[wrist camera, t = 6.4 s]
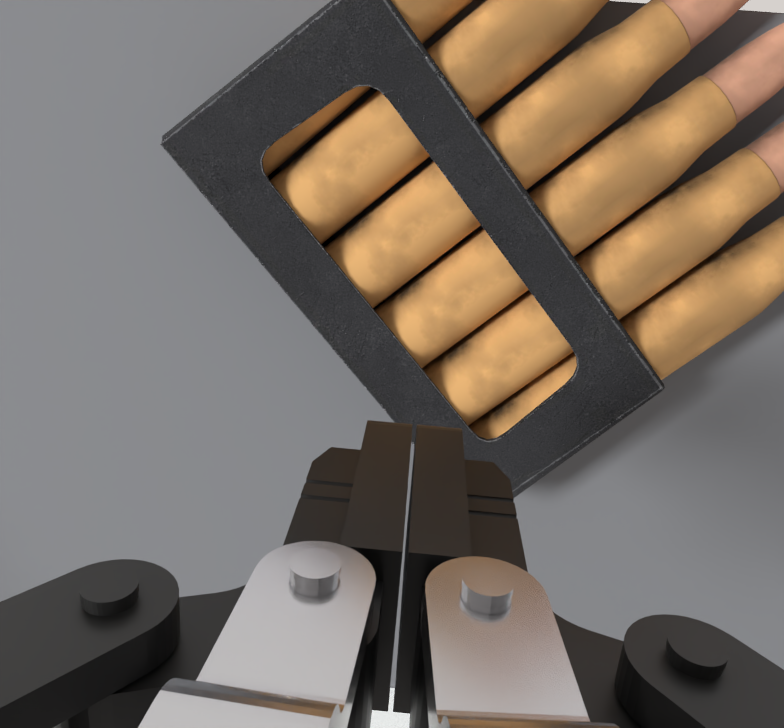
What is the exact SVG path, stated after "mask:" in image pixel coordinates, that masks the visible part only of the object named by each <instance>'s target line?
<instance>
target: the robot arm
mask: <svg viewBox="0 0 784 728" xmlns="http://www.w3.org/2000/svg"><path fill="white" fill-rule="evenodd" d="M412 425H413V424H404V423H393V422H383V421H372V420H367V424H366V429H365V433H364V438H363V442H362V447H361V450H358V449H347V448H336V447H331V448H329V449H328V450H327V451H325V452H324V453H323V454H321V455H320V456H319V457H317V458H316V459H315V460H313V461H312V464H311V467H310V470H309V472H308V475H307V478H306V483H305V484H304V487H303V490H302V492H301V498H299V501H298V504H297V507H296V510H295V512H294V515H293V518H292V521H291V524H290V527H289V530H288V532H287V535H286V538H285V541H284V544H283V546H282V547H279V548H277V549H275V550H273V551H271V552H270V553H268V554H267V555H265V556H264V557H263V558H262V559H261V560H260V561H259V563H258V564H257V566H256V567H255V569H254V571H253V573H252V575H251V577H250V578H249V580H248V582H247V584H246V585H244V586H241V587H239V588H236V589H232V590H228V591H223V592H217V593H210V594H202V595H193V596H185V597H179V587H178V583H177V581H176V579H175V578H174V576H173V575H172V574H171V573H170V572H169V571H168V570H166V569H165V568H163V567H161V566H159V565H157V564H154V563H151V562H147V561H142V560H135V559H118V560H108V561H102V562H98V563H94V564H90V565H87V566H84V567H82V568H79V569H76V570H74V571H72V572H69V573H67V574H65V575H62V576H60V577H58V578H55V579H53V580H51V581H48V582H46V583H43V584H41V585H39V586H36V587H34V588H32V589H29V590H27V591H25V592H22V593H20V594H18V595H15V596H13V597H10V598H8V599H6V600H3V601H1V602H0V728H370V722H371V713H372V710H379V711H388V704H389V693H390V682H391V671H392V661H393V650H394V639H395V628H396V618H397V607H398V596H399V586H400V575H401V564H402V553H403V541H404V528H405V515H406V502H407V490H408V477H409V464H410V451H411V438H412ZM513 502H514V498H513V492H512V487H511V482H510V479H509V478H508V477H507V476H506V475H505V474H504V473H503V472H502V471H501V470H500V469H499V467H498V466H497V465H496V464H495V463H494V462H487V461H476V460H466V459H464V446H463V433H462V429H460V428H449V427H438V426H427V425H417V426H416V435H415V446H414V456H413V467H412V478H411V488H410V499H409V510H408V520H407V532H406V544H405V557H404V570H403V584H402V598H401V611H400V625H399V639H398V653H397V666H396V680H395V694H394V707H393V712H401V713H410V727H409V728H784V670H783V669H782V668H780V667H779V666H777V665H776V664H774V663H773V662H771V661H770V660H768V659H767V658H765V657H764V656H762V655H761V654H759V653H757V652H756V651H754V650H753V649H751V648H750V647H748V646H747V645H745V644H744V643H742V642H741V641H739V640H738V639H736V638H735V637H733V636H731V635H730V634H728V633H726V632H725V631H723V630H721V629H719V628H717V627H715V626H713V625H711V624H708V623H705V622H703V621H700V620H697V619H693V618H689V617H685V616H679V615H669V614H660V615H651V616H647V617H644V618H641V619H639V620H637V621H636V622H634V623H633V624H631V626H630V627H629V628H628V629H627V631H626V634H625V636H624V641H621V640H618V639H615V638H612V637H609V636H606V635H602V634H599V633H596V632H593V631H590V630H587V629H585V628H582V627H579V626H577V625H575V624H573V623H571V622H569V621H567V620H565V619H563V618H562V617H560V616H558V615H557V614H555V613H554V612H553V611H552V608H551V605H550V602H549V599H548V596H547V594H546V592H545V589H544V588H543V587H542V585H541V584H540V583H539V582H538V581H537V580H536V579H535V578H534V577H533V576H532V575H530V574H529V573H528V570H527V565H526V560H525V555H524V550H523V544H522V539H521V534H520V529H519V524H518V519H517V513H516V508H515V503H513Z"/></svg>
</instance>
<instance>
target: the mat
mask: <svg viewBox="0 0 784 728" xmlns="http://www.w3.org/2000/svg"><path fill="white" fill-rule="evenodd" d="M330 1H331V0H0V602H1V601H3V600H6V599H8V598H10V597H13V596H15V595H18V594H20V593H22V592H25V591H27V590H29V589H32V588H34V587H36V586H39V585H41V584H43V583H46V582H48V581H51V580H53V579H55V578H58V577H60V576H62V575H65V574H67V573H69V572H72V571H74V570H76V569H79V568H82V567H84V566H87V565H90V564H94V563H98V562H102V561H108V560H118V559H135V560H142V561H147V562H151V563H154V564H157V565H159V566H161V567H163V568H165V569H166V570H168V571H169V572H170V573H171V574H172V575H173V576H174V578H175V579H176V581H177V583H178V587H179V597H185V596H193V595H202V594H210V593H217V592H223V591H228V590H232V589H236V588H239V587H241V586H244V585H246V584H247V582H248V580H249V578H250V577H251V575H252V573H253V571H254V569H255V567H256V566H257V564H258V563H259V561H260V560H261V559H262V558H263V557H264V556H265V555H267V554H268V553H270V552H271V551H273V550H275V549H277V548H279V547H282V546H283V544H284V541H285V538H286V535H287V532H288V530H289V527H290V524H291V521H292V518H293V515H294V512H295V510H296V507H297V504H298V501H299V498H301V492H302V490H303V487H304V484H305V483H306V478H307V475H308V472H309V470H310V467H311V464H312V461H313V460H315V459H316V458H317V457H319V456H320V455H321V454H323V453H324V452H325V451H327V450H328V449H329V448H331V447H336V448H347V449H358V450H361V447H362V442H363V438H364V433H365V429H366V424H367V420H372V421H383V422H393V423H394V421H393V420H392V419H391V418H390V417H389V415H388V414H387V413H386V412H385V411H384V410H383V408H382V407H381V406H380V405H379V404H378V402H377V401H376V400H375V399H374V398H373V396H372V395H371V394H370V393H369V392H368V391H367V389H366V388H365V387H364V386H363V385H362V383H361V382H360V381H359V380H358V379H357V377H356V376H355V375H354V374H353V373H352V372H351V370H350V369H349V368H348V367H347V366H346V364H345V363H344V362H343V361H342V360H341V358H340V357H339V356H338V355H337V354H336V353H335V351H334V350H333V349H332V348H331V347H330V345H329V344H328V343H327V342H326V341H325V339H324V338H323V337H322V336H321V335H320V334H319V332H318V331H317V330H316V329H315V328H314V326H313V325H312V324H311V323H310V322H309V320H308V319H307V318H306V317H305V316H304V314H303V313H302V312H301V311H300V310H299V309H298V307H297V306H296V305H295V304H294V303H293V301H292V300H291V299H290V298H289V297H288V295H287V294H286V293H285V292H284V291H283V290H282V288H281V287H280V286H279V285H278V284H277V282H276V281H275V280H274V279H273V278H272V276H271V275H270V274H269V273H268V272H267V271H266V269H265V268H264V267H263V266H262V265H261V263H260V262H259V261H258V260H257V259H256V257H255V256H254V255H253V254H252V253H251V252H250V250H249V249H248V248H247V247H246V246H245V244H244V243H243V242H242V241H241V240H240V238H239V237H238V236H237V235H236V234H235V233H234V231H233V230H232V229H231V228H230V227H229V225H228V224H227V223H226V222H225V221H224V219H223V218H222V217H221V216H220V215H219V214H218V212H217V211H216V210H215V209H214V208H213V206H212V205H211V204H210V203H209V202H208V200H207V199H206V198H205V197H204V196H203V195H202V193H201V192H200V191H199V190H198V189H197V187H196V186H195V185H194V184H193V183H192V181H191V180H190V179H189V178H188V177H187V175H186V174H185V173H184V172H183V171H182V170H181V168H180V167H179V166H178V165H177V164H176V162H175V161H174V160H173V159H172V158H171V156H170V155H169V154H168V153H167V152H166V151H165V149H164V148H163V147H162V146H161V145H160V143H161V141H162V136H163V135H164V134H165V133H167V132H168V131H169V130H170V129H172V128H173V127H174V126H175V125H177V124H178V123H179V122H180V121H182V120H183V119H184V118H185V117H187V116H188V115H189V114H190V113H192V112H193V111H194V110H195V109H197V108H198V107H199V106H200V105H202V104H203V103H204V102H205V101H206V100H208V99H209V98H210V97H211V96H213V95H214V94H215V93H216V92H218V91H219V90H220V89H221V88H223V87H224V86H225V85H226V84H228V83H229V82H230V81H231V80H233V79H234V78H235V77H236V76H238V75H239V74H240V73H241V72H243V71H244V70H245V69H246V68H248V67H249V66H250V65H251V64H253V63H254V62H255V61H256V60H258V59H259V58H260V57H261V56H263V55H264V54H265V53H266V52H268V51H269V50H270V49H271V48H273V47H274V46H275V45H276V44H278V43H279V42H280V41H281V40H283V39H284V38H285V37H286V36H288V35H289V34H290V33H291V32H293V31H294V30H295V29H296V28H298V27H299V26H300V25H301V24H303V23H304V22H305V21H306V20H308V19H309V18H310V17H311V16H313V15H314V14H315V13H316V12H318V11H319V10H320V9H321V8H322V7H324V6H325V5H326V4H327V3H329V2H330ZM484 1H485V0H473V1H472V2H471V3H470V4H468V5H467V6H466V7H465V8H464V9H463V10H461V11H460V12H459V13H458V14H457V15H456V16H454V17H453V18H452V19H451V20H450V21H449V22H447V23H446V24H445V25H444V26H443V27H442V28H440V29H439V30H438V31H437V32H436V33H435V34H433V35H432V36H431V37H430V38H429V39H428V40H426V41H425V42H424V43H423V44H422V45H423V46H424V47H425V49H426V50H427V49H428V48H429V47H430V46H431V45H433V44H434V43H435V42H436V41H437V40H439V39H440V38H441V37H442V36H443V35H445V34H446V33H447V32H448V31H449V30H451V29H452V28H453V27H454V26H455V25H457V24H458V23H459V22H460V21H461V20H463V19H464V18H465V17H466V16H467V15H469V14H470V13H471V12H472V11H473V10H475V9H476V8H477V7H478V6H479V5H481V4H482V3H483V2H484ZM644 5H646V4H644V3H629V2H615V1H608V2H607V3H606V4H605V5H604V6H603V7H602V8H601V10H600V11H599V12H598V13H597V14H596V15H595V16H594V18H593V19H592V20H591V21H590V22H589V23H588V25H587V26H586V27H585V28H584V29H583V30H582V31H581V32H580V33H579V35H578V36H577V37H575V38H574V39H573V40H572V41H571V42H570V43H569V44H568V45H566V46H565V47H564V48H563V49H561V50H560V51H559V52H558V53H556V54H555V55H554V56H553V57H552V58H550V59H549V60H548V61H547V62H545V63H544V64H543V65H542V66H540V67H539V68H538V69H537V70H536V71H534V72H533V73H532V74H531V75H529V76H528V77H527V78H526V79H524V80H523V81H522V82H521V83H519V84H518V85H517V86H516V87H515V88H513V89H512V90H511V91H510V92H508V93H507V94H506V95H505V96H503V97H502V98H501V99H500V100H499V101H497V102H496V103H495V104H494V105H492V106H491V107H490V108H489V109H487V110H486V111H485V112H484V113H483V114H481V115H480V116H479V117H478V118H476V120H477V122H478V123H479V125H480V124H481V123H482V122H483V121H485V120H486V119H487V118H488V117H490V116H491V115H492V114H493V113H495V112H496V111H497V110H499V109H500V108H501V107H502V106H504V105H505V104H506V103H507V102H509V101H510V100H511V99H512V98H514V97H515V96H516V95H517V94H519V93H520V92H521V91H523V90H524V89H525V88H526V87H528V86H529V85H530V84H531V83H533V82H534V81H535V80H536V79H538V78H539V77H540V76H542V75H543V74H544V73H545V72H547V71H548V70H549V69H550V68H552V67H553V66H554V65H555V64H557V63H558V62H559V61H560V60H562V59H563V58H564V57H566V56H567V55H568V54H569V53H571V52H572V51H573V50H575V49H576V48H577V47H579V46H580V45H582V44H583V43H585V42H587V41H588V40H590V39H592V38H594V37H596V36H597V35H599V34H601V33H603V32H605V31H607V30H609V29H611V28H612V27H614V26H616V25H618V24H620V23H621V22H622V21H624V20H625V19H626V18H628V17H629V16H631V15H632V14H633V13H635V12H636V11H637V10H639V9H640V8H642V7H643V6H644ZM782 23H784V13H771V12H757V11H742V10H738V11H737V12H736V13H735V14H734V15H732V16H731V17H730V18H729V19H728V20H727V21H726V22H725V23H724V24H722V25H721V26H720V27H719V28H718V29H716V30H715V31H714V32H713V33H711V34H710V35H709V36H708V37H706V38H705V39H704V40H703V41H701V42H700V43H699V44H697V45H696V46H695V47H694V48H692V49H691V50H690V52H689V53H688V54H687V55H686V56H685V57H684V58H682V59H681V60H680V61H679V62H678V63H676V64H675V65H674V66H673V67H672V68H670V69H669V70H668V71H667V72H666V73H664V74H663V75H662V76H661V77H660V78H658V79H657V80H656V81H655V82H654V84H653V85H652V86H651V87H650V88H649V89H648V90H647V91H646V92H645V93H644V95H643V96H642V97H641V98H640V99H639V100H638V101H637V102H636V103H635V104H634V105H633V106H632V107H631V108H630V109H629V110H628V111H627V112H626V113H625V114H623V115H622V116H621V117H620V118H619V119H618V120H616V121H615V122H614V123H612V124H611V125H610V126H608V127H607V128H606V129H605V130H603V131H602V132H601V133H599V134H598V135H597V136H596V137H594V138H593V139H592V140H590V141H589V142H588V143H586V144H585V145H584V146H583V147H581V148H580V149H579V150H577V151H576V152H575V153H573V154H572V155H571V156H570V157H568V158H567V159H566V160H564V161H563V162H562V163H561V164H559V165H558V166H557V167H555V168H554V169H553V170H551V171H550V172H549V173H548V174H546V175H545V176H544V177H542V178H541V179H540V180H539V181H537V182H536V183H535V184H533V185H532V186H531V187H529V188H528V189H527V190H526V191H527V192H528V194H529V193H530V192H531V191H533V190H534V189H535V188H537V187H538V186H539V185H541V184H542V183H543V182H545V181H546V180H547V179H549V178H550V177H551V176H553V175H554V174H555V173H557V172H558V171H559V170H561V169H562V168H563V167H565V166H566V165H567V164H569V163H570V162H571V161H573V160H574V159H575V158H576V157H578V156H579V155H580V154H582V153H583V152H584V151H586V150H587V149H588V148H590V147H591V146H592V145H594V144H595V143H596V142H598V141H599V140H600V139H602V138H603V137H604V136H606V135H607V134H608V133H610V132H611V131H612V130H614V129H615V128H616V127H618V126H619V125H620V124H622V123H623V122H625V121H626V120H628V119H629V118H630V117H632V116H634V115H636V114H638V113H640V112H642V111H644V110H646V109H648V108H650V107H651V106H653V105H655V104H657V103H659V102H661V101H663V100H665V99H667V98H668V97H670V96H671V95H673V94H674V93H676V92H677V91H678V90H680V89H681V88H683V87H684V86H686V85H687V84H688V83H690V82H691V81H693V80H694V79H696V78H697V77H698V76H702V75H704V74H705V73H706V72H708V71H709V70H711V69H712V68H713V67H715V66H716V65H717V64H719V63H720V62H721V61H723V60H724V59H726V58H727V57H728V56H730V55H731V54H733V53H734V52H735V51H737V50H738V49H740V48H741V47H743V46H745V45H746V44H748V43H749V42H751V41H753V40H754V39H756V38H757V37H759V36H761V35H762V34H764V33H766V32H767V31H769V30H771V29H773V28H774V27H776V26H778V25H780V24H782ZM375 92H376V91H375V90H368V91H367V92H366V93H364V94H363V95H362V96H361V97H360V98H359V99H357V100H356V101H355V102H354V103H353V104H352V105H350V106H349V107H348V108H347V109H346V110H345V111H343V112H342V113H341V114H340V115H339V116H338V117H336V118H335V119H334V120H333V121H332V122H331V123H329V124H328V125H327V126H326V127H325V128H324V129H322V130H321V131H320V132H319V133H318V134H317V135H315V136H314V137H313V138H312V139H311V140H310V141H308V142H307V143H306V144H305V145H304V146H303V147H301V148H300V149H299V150H298V151H297V152H295V153H294V154H293V155H292V156H291V157H290V158H288V159H287V160H286V161H285V162H284V163H283V164H281V165H280V166H279V167H280V168H281V170H283V169H284V168H285V167H286V166H287V165H289V164H290V163H291V162H292V161H293V160H295V159H296V158H297V157H298V156H299V155H301V154H302V153H303V152H304V151H305V150H307V149H308V148H309V147H310V146H311V145H313V144H314V143H315V142H316V141H317V140H319V139H320V138H321V137H322V136H323V135H325V134H326V133H327V132H328V131H329V130H331V129H332V128H333V127H334V126H335V125H337V124H338V123H339V122H340V121H341V120H343V119H344V118H345V117H346V116H347V115H349V114H350V113H351V112H352V111H353V110H355V109H356V108H357V107H358V106H359V105H361V104H362V103H363V102H364V101H365V100H367V99H368V98H369V97H370V96H371V95H373V94H374V93H375ZM783 121H784V87H783V88H782V89H780V90H779V91H778V92H777V93H776V94H775V95H773V96H772V97H771V98H770V99H769V100H767V101H766V102H765V103H764V104H762V105H761V106H760V107H758V108H757V109H756V110H754V111H753V112H752V113H750V114H749V115H748V116H746V117H745V118H744V119H742V120H741V121H740V122H738V123H737V124H736V126H735V127H734V128H733V129H732V130H731V131H729V132H728V133H727V134H726V135H724V136H723V137H722V138H721V139H719V140H718V141H717V142H716V143H714V144H713V145H712V146H711V147H709V148H708V149H707V150H705V151H704V152H703V153H702V154H701V155H700V156H699V157H698V158H697V159H696V161H695V162H694V163H693V164H692V165H691V166H690V167H689V168H688V169H687V170H686V171H685V172H684V173H683V174H682V175H681V176H680V177H679V178H678V179H677V180H676V181H675V182H674V183H672V184H671V185H670V186H669V187H668V188H666V189H665V190H664V191H662V192H661V193H659V194H658V195H657V196H655V197H654V198H653V199H651V200H650V201H649V202H647V203H646V204H644V205H643V206H642V207H640V208H639V209H638V210H636V211H635V212H634V213H632V214H631V215H630V216H628V217H627V218H625V219H624V220H623V221H621V222H620V223H619V224H617V225H616V226H615V227H613V228H612V229H611V230H609V231H608V232H606V233H605V234H604V235H602V236H601V237H600V238H598V239H597V240H596V241H594V242H593V243H592V244H590V245H589V246H587V247H586V248H585V249H583V250H582V251H581V252H579V253H578V254H577V255H575V256H574V258H575V257H576V256H578V255H579V254H581V253H582V252H583V251H585V250H586V249H588V248H589V247H590V246H592V245H593V244H594V243H596V242H597V241H599V240H600V239H601V238H603V237H604V236H606V235H607V234H608V233H610V232H611V231H613V230H614V229H615V228H617V227H618V226H620V225H621V224H622V223H624V222H625V221H626V220H628V219H629V218H631V217H632V216H633V215H635V214H636V213H638V212H639V211H640V210H642V209H643V208H645V207H646V206H647V205H649V204H650V203H652V202H653V201H654V200H656V199H657V198H658V197H660V196H661V195H663V194H664V193H666V192H667V191H669V190H670V189H672V188H673V187H675V186H677V185H679V184H681V183H683V182H685V181H687V180H689V179H691V178H694V177H696V176H698V175H700V174H702V173H704V172H706V171H708V170H710V169H711V168H713V167H714V166H716V165H717V164H719V163H720V162H722V161H723V160H725V159H726V158H728V157H729V156H731V155H732V154H734V153H735V152H737V151H738V150H740V149H742V148H745V147H747V146H748V145H749V144H751V143H752V142H754V141H755V140H757V139H758V138H759V137H761V136H762V135H764V134H765V133H766V132H768V131H769V130H771V129H772V128H774V127H775V126H777V125H778V124H780V123H782V122H783ZM432 162H433V159H432V158H431V157H428V158H427V159H426V160H425V161H423V162H422V163H421V164H420V165H419V166H417V167H416V168H415V169H414V170H412V171H411V172H410V173H409V174H407V175H406V176H405V177H404V178H402V179H401V180H400V181H399V182H398V183H396V184H395V185H394V186H393V187H391V188H390V189H389V190H388V191H386V192H385V193H384V194H383V195H382V196H380V197H379V198H378V199H377V200H375V201H374V202H373V203H372V204H370V205H369V206H368V207H367V208H366V209H364V210H363V211H362V212H361V213H359V214H358V215H357V216H356V217H354V218H353V219H352V220H351V221H350V222H348V223H347V224H346V225H345V226H343V227H342V228H341V229H340V230H338V231H337V232H336V233H335V234H334V235H333V236H334V237H335V238H337V237H338V236H339V235H340V234H342V233H343V232H344V231H346V230H347V229H348V228H349V227H351V226H352V225H353V224H354V223H356V222H357V221H358V220H359V219H361V218H362V217H363V216H364V215H366V214H367V213H368V212H370V211H371V210H372V209H373V208H375V207H376V206H377V205H378V204H380V203H381V202H382V201H383V200H385V199H386V198H387V197H389V196H390V195H391V194H392V193H394V192H395V191H396V190H397V189H399V188H400V187H401V186H402V185H404V184H405V183H406V182H407V181H409V180H410V179H411V178H413V177H414V176H415V175H416V174H418V173H419V172H420V171H421V170H423V169H424V168H425V167H426V166H428V165H429V164H430V163H432ZM782 216H784V192H782V193H781V194H780V195H779V197H778V198H777V199H775V200H774V201H773V202H771V203H770V204H769V205H767V206H766V207H765V208H764V209H762V210H761V211H760V212H758V213H757V214H756V215H754V216H753V217H752V218H750V219H749V220H748V221H747V222H746V223H745V224H744V225H743V226H742V227H741V228H740V229H739V230H738V231H737V232H736V233H735V234H734V235H733V236H732V237H731V238H730V239H729V240H728V241H727V242H726V243H725V244H724V245H723V246H722V247H721V248H719V249H718V250H717V251H716V252H718V251H720V250H722V249H724V248H726V247H728V246H730V245H733V244H735V243H737V242H739V241H741V240H744V239H746V238H748V237H750V236H752V235H753V234H755V233H756V232H758V231H760V230H761V229H763V228H764V227H766V226H767V225H769V224H771V223H772V222H774V221H775V220H777V219H778V218H780V217H782ZM482 228H483V227H482V226H481V225H480V226H479V227H478V228H476V229H475V230H474V231H472V232H471V233H470V234H469V235H467V236H466V237H465V238H463V239H462V240H461V241H459V242H458V243H457V244H456V245H454V246H453V247H452V248H450V249H449V250H448V251H447V252H445V253H444V254H443V255H441V256H440V257H439V258H437V259H436V260H435V261H434V262H432V263H431V264H430V265H428V266H427V267H426V268H425V269H423V270H422V271H421V272H419V273H418V274H417V275H415V276H414V277H413V278H412V279H410V280H409V281H408V282H406V283H405V284H404V285H402V286H401V287H400V288H399V289H397V290H396V291H395V292H393V293H392V294H391V295H390V296H388V297H387V298H386V299H384V300H385V301H387V300H388V299H389V298H391V297H392V296H393V295H395V294H396V293H397V292H399V291H400V290H401V289H403V288H404V287H405V286H407V285H408V284H409V283H411V282H412V281H413V280H415V279H416V278H417V277H419V276H420V275H421V274H422V273H424V272H425V271H426V270H428V269H429V268H430V267H432V266H433V265H434V264H436V263H437V262H438V261H440V260H441V259H442V258H444V257H445V256H446V255H448V254H449V253H450V252H452V251H453V250H454V249H456V248H457V247H458V246H460V245H461V244H462V243H464V242H465V241H466V240H468V239H469V238H470V237H472V236H473V235H474V234H476V233H477V232H478V231H480V230H481V229H482ZM716 252H714V253H716ZM714 253H713V254H714ZM710 256H711V255H710ZM528 291H529V290H528ZM528 291H526V292H528ZM526 292H525V293H526ZM525 293H524V294H525ZM524 294H522V295H524ZM522 295H521V296H522ZM521 296H519V297H521ZM519 297H518V298H519ZM518 298H517V299H518ZM517 299H515V300H517ZM515 300H514V301H515ZM514 301H513V302H514ZM511 303H512V302H511ZM511 303H510V304H511ZM510 304H509V305H510ZM507 306H508V305H507ZM507 306H506V307H507ZM503 309H504V308H503ZM503 309H502V310H503ZM500 311H501V310H500ZM500 311H499V312H500ZM496 314H497V313H496ZM496 314H495V315H496ZM492 317H493V316H492ZM492 317H491V318H492ZM488 320H489V319H488ZM484 323H485V322H484ZM481 325H482V324H481ZM477 328H478V327H477ZM662 382H663V383H664V386H665V388H664V390H663V391H661V392H660V393H659V394H657V395H656V396H654V397H653V398H652V399H650V400H649V401H648V402H646V403H645V404H643V405H642V406H641V407H639V408H638V409H636V410H635V411H634V412H632V413H631V414H630V415H628V416H627V417H625V418H624V419H623V420H621V421H620V422H619V423H617V424H616V425H614V426H613V427H612V428H610V429H609V430H607V431H606V432H605V433H603V434H602V435H601V436H599V437H598V438H596V439H595V440H594V441H592V442H591V443H589V444H588V445H587V446H585V447H584V448H583V449H581V450H580V451H578V452H577V453H576V454H574V455H573V456H572V457H570V458H569V459H567V460H566V461H565V462H563V463H562V464H560V465H559V466H558V467H556V468H555V469H554V470H552V471H551V472H549V473H548V474H547V475H545V476H544V477H542V478H541V479H540V480H538V481H537V482H536V483H534V484H533V485H531V486H530V487H529V488H527V489H526V490H524V491H523V492H522V493H520V494H519V495H518V496H516V497H515V498H514V502H513V503H515V508H516V513H517V519H518V524H519V529H520V534H521V539H522V544H523V550H524V555H525V560H526V565H527V570H528V573H529V574H530V575H532V576H533V577H534V578H535V579H536V580H537V581H538V582H539V583H540V584H541V585H542V587H543V588H544V589H545V592H546V594H547V596H548V599H549V602H550V605H551V608H552V611H553V612H554V613H555V614H557V615H558V616H560V617H562V618H563V619H565V620H567V621H569V622H571V623H573V624H575V625H577V626H579V627H582V628H585V629H587V630H590V631H593V632H596V633H599V634H602V635H606V636H609V637H612V638H615V639H618V640H621V641H624V636H625V634H626V631H627V629H628V628H629V627H630V626H631V624H633V623H634V622H636V621H637V620H639V619H641V618H644V617H647V616H651V615H660V614H669V615H679V616H685V617H689V618H693V619H697V620H700V621H703V622H705V623H708V624H711V625H713V626H715V627H717V628H719V629H721V630H723V631H725V632H726V633H728V634H730V635H731V636H733V637H735V638H736V639H738V640H739V641H741V642H742V643H744V644H745V645H747V646H748V647H750V648H751V649H753V650H754V651H756V652H757V653H759V654H761V655H762V656H764V657H765V658H767V659H768V660H770V661H771V662H773V663H774V664H776V665H777V666H779V667H780V668H782V669H783V670H784V291H783V292H782V293H781V294H780V295H779V296H778V297H777V298H776V299H775V300H774V301H773V302H772V303H771V304H770V305H769V306H768V307H766V308H765V309H764V310H763V311H762V312H761V313H760V314H758V315H757V316H756V317H754V318H753V319H752V320H750V321H749V322H747V323H746V324H744V325H743V326H741V327H740V328H738V329H737V330H735V331H734V332H732V333H731V334H729V335H728V336H726V337H725V338H723V339H722V340H720V341H719V342H717V343H716V344H714V345H713V346H711V347H710V348H708V349H707V350H705V351H704V352H703V353H701V354H700V355H698V356H697V357H695V358H694V359H692V360H691V361H689V362H688V363H686V364H685V365H683V366H682V367H680V368H679V369H677V370H676V371H674V372H673V373H671V374H670V375H668V376H667V377H665V378H664V379H662ZM413 456H414V445H413V444H412V443H411V451H410V464H409V477H408V490H407V502H406V515H405V528H404V541H403V553H402V564H401V575H400V586H399V596H398V607H397V618H396V628H395V639H394V650H393V661H392V671H391V682H390V687H391V688H395V680H396V666H397V653H398V639H399V625H400V611H401V598H402V584H403V570H404V557H405V544H406V532H407V520H408V510H409V499H410V488H411V478H412V467H413Z"/></svg>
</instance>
